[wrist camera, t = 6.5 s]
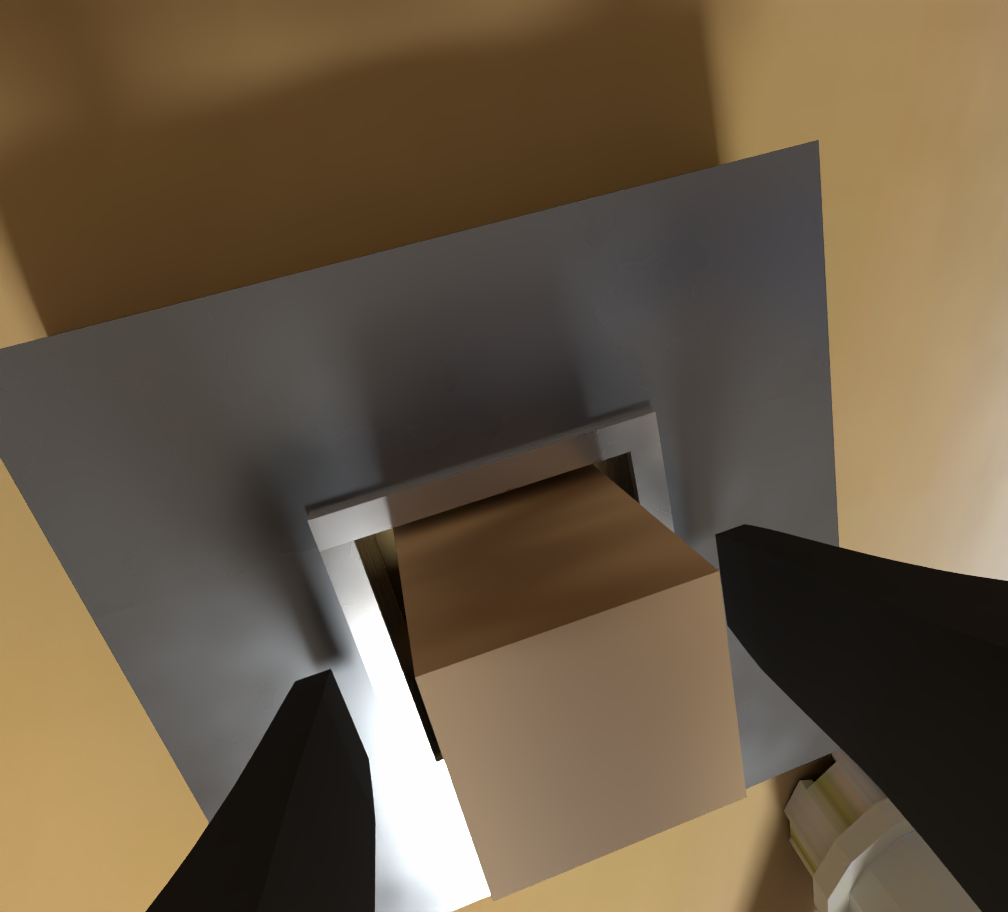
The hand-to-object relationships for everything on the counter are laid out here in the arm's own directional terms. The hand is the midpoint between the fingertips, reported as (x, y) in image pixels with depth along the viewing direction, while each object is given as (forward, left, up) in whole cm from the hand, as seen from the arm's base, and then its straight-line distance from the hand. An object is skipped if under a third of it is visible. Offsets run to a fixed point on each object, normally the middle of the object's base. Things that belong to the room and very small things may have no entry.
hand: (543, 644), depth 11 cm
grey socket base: (0, 0, -4) cm, 4 cm away
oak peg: (0, 0, -4) cm, 4 cm away
